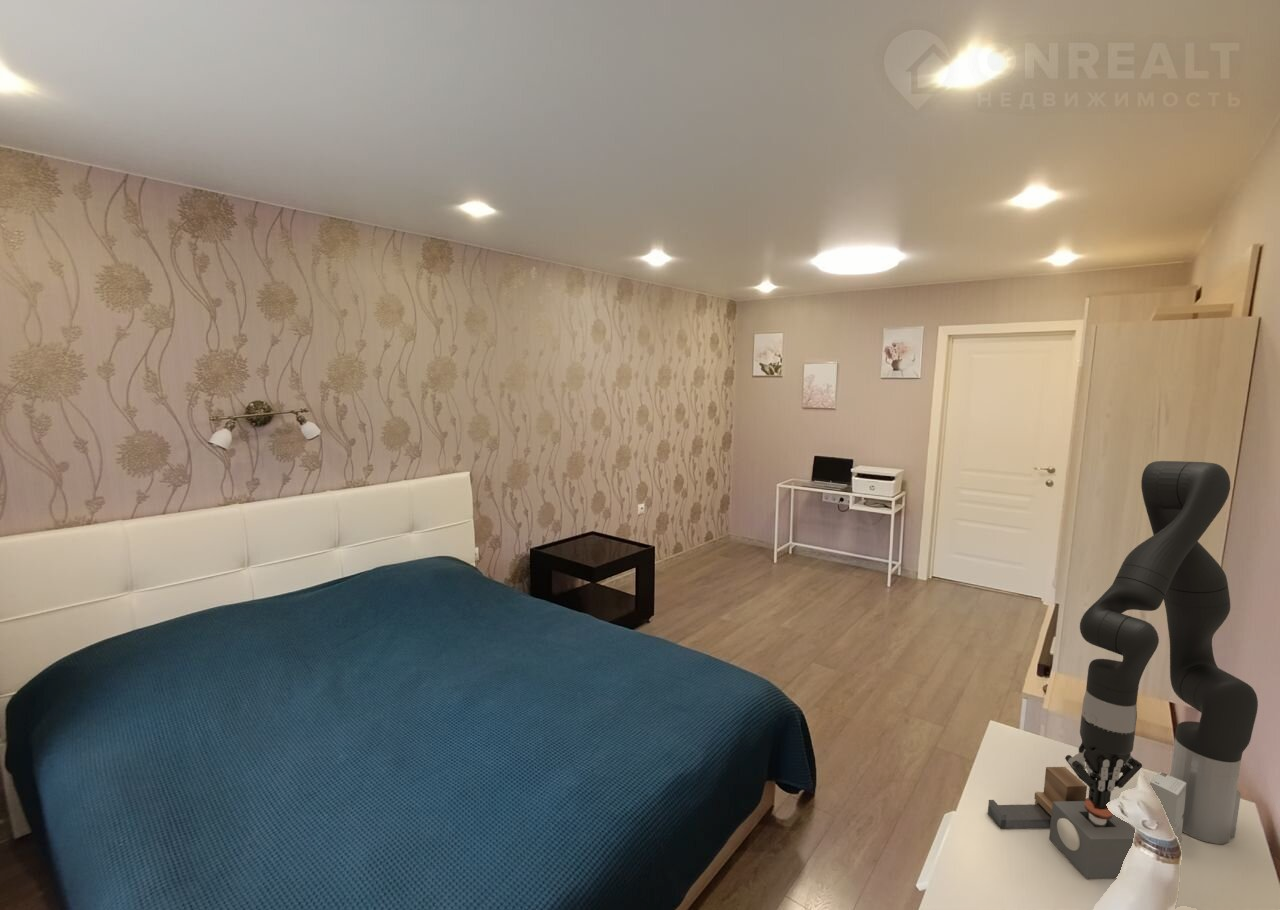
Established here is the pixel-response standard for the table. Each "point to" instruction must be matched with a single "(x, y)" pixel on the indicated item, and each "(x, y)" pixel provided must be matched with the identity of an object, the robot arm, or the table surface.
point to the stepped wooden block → (1060, 788)
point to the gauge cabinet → (1090, 840)
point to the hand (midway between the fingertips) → (1098, 805)
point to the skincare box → (1171, 799)
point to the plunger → (1097, 814)
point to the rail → (1019, 816)
